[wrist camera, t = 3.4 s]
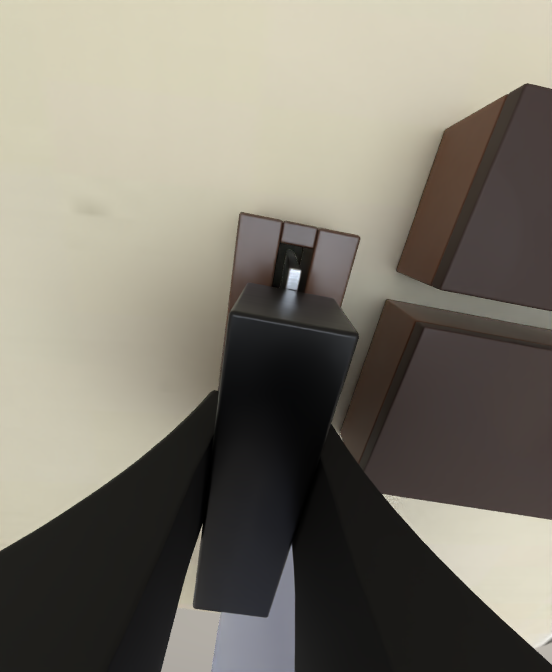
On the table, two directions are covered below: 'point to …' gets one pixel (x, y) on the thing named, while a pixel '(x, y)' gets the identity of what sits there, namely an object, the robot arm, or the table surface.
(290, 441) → the bench scraper
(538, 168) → the brown rectangular block
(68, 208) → the table surface
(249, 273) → the knife block
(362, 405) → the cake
